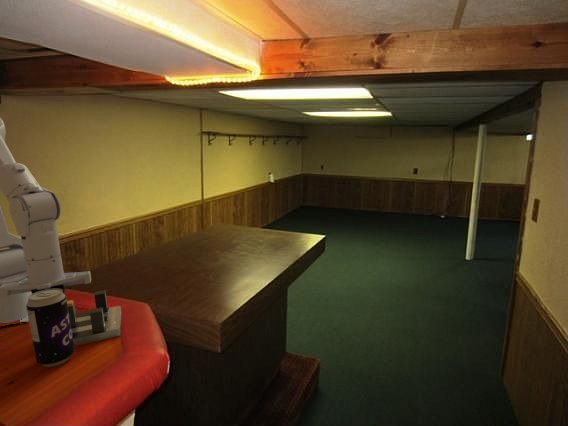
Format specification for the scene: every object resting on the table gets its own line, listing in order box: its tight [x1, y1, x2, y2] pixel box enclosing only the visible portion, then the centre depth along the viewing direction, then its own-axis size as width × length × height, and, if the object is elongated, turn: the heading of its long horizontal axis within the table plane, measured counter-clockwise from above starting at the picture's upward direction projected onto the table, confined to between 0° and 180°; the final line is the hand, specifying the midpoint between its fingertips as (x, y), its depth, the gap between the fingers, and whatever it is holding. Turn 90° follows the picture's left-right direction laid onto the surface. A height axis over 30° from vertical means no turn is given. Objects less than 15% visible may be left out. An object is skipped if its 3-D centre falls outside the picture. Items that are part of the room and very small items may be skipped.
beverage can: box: [26, 288, 75, 368], centre depth 63 cm, size 6×6×12 cm
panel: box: [33, 289, 122, 353], centre depth 74 cm, size 13×14×6 cm
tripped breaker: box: [67, 299, 77, 326], centre depth 73 cm, size 2×2×5 cm
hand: (54, 324), depth 73 cm, fingers closed
